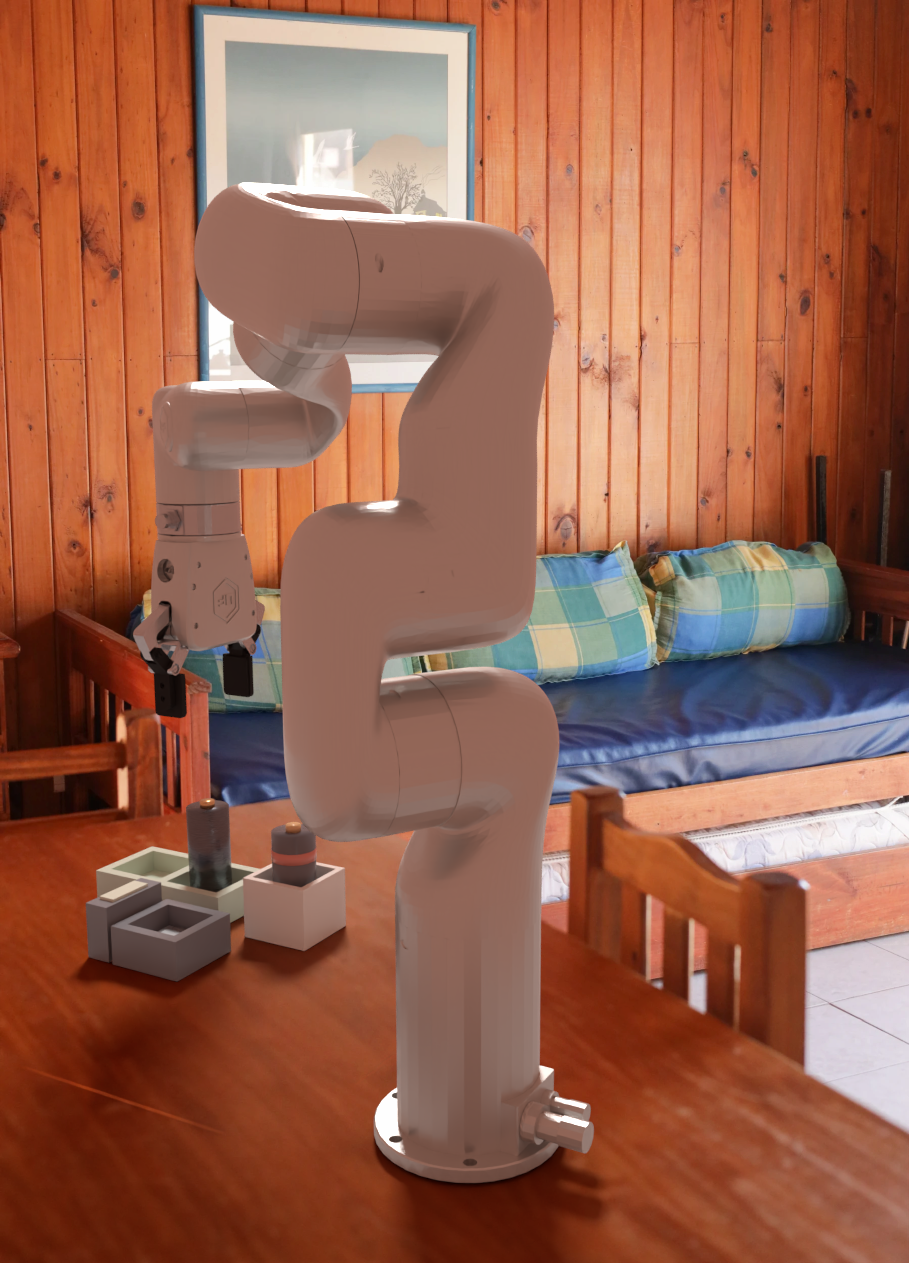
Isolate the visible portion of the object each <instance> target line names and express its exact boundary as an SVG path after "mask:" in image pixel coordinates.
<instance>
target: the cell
mask: <svg viewBox="0 0 909 1263" xmlns="http://www.w3.org/2000/svg"><path fill="white" fill-rule="evenodd" d="M185 815H186V833H187V834H186V835H187V837H186V838H187V854H188V859H189V879H190V887H194V888H198V889H203V890H207V891H212V892H218V891H220V890H222V889H224V888H226V887H228V886H230V885H232V867H231V863H232V849H231V848H232V847H231V845H232V844H231V828H230V827H231V826H230V824H231V823H230V805H229V803H228V802H226V801H222V800H219V799H218V800H216V799H215V798H213V797H212V798H201V799H200V800H199V801H195V802H192V803H189V804H188V805H186V806H185Z"/></svg>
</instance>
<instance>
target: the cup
mask: <svg viewBox="0 0 909 1263" xmlns="http://www.w3.org/2000/svg"><path fill="white" fill-rule="evenodd" d="M270 839H271V842H270V844H271V848H270V857H271V858H270V859H271V863H270V864H268V865H266V866H264V867H261V868H259V869H260V870H258V871H256V872H254V873H252V874H250V875H248V876H246V877H244V878H243V896H244V916H243V918H244V919H243V923H244V926H243V927H244V938H248V939H253V940H256V941H260V942H265V943H268V944H269V943H270V944H274V945H278V946H282V947H286V948H291V949H293V950H294V949H295V950H298V951H302V952H305V951H307V950H308V949H310V948H312V947H313V946H316V945H317V944H319V943H320V942H322V941H323V940H325V939H327V938H328V937H330V936H331V935H333V934H335V933H336V932H338V931H339V930H342V929H343V928H344V927H347V912H346V910H347V909H346V908H347V907H346V904H347V903H346V868H345V867H341V866H337V865H332V864H328V863H322V862H318V861H317V858H318V855H317V852H318V851H317V848H318V847H317V836H316V835H314V834H313V833H311V832H310V831H309V830H308V829H307V828H306V827H305V826H304V825H303V823H302V822H298V821H291V822H286V823H285V824H282V825H278V826H276V827H273V828H272V829H271V831H270Z"/></svg>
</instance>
